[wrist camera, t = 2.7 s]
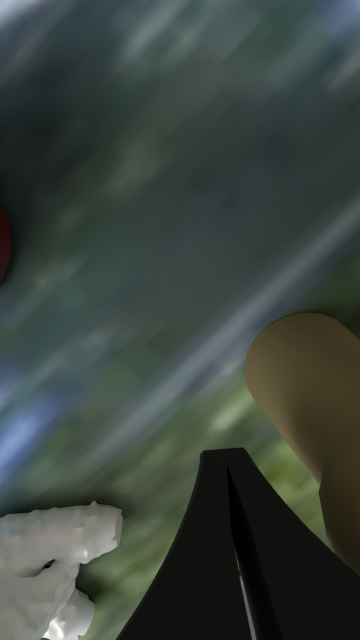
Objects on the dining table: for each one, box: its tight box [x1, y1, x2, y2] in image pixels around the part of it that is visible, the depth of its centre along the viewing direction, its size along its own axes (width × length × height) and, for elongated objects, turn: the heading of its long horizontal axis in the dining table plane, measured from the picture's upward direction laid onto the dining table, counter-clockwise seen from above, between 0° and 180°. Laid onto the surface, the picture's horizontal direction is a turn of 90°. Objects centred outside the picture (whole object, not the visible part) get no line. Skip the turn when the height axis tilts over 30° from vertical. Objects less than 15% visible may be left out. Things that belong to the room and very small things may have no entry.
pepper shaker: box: [245, 312, 360, 575], centre depth 12 cm, size 6×6×11 cm
